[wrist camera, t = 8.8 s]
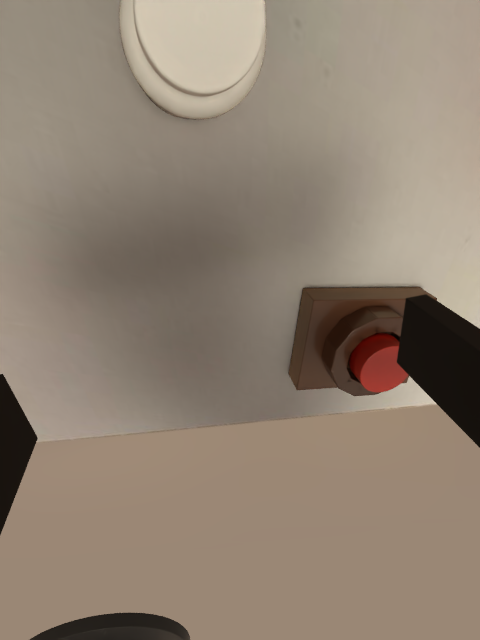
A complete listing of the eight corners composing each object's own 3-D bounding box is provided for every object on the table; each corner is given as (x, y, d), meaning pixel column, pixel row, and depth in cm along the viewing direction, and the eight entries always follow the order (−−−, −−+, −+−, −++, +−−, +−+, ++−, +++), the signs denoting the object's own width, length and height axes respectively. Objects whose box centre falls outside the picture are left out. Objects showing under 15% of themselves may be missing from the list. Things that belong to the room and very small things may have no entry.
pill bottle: (132, -19, 17) (106, -151, 9) (241, 8, 18) (308, -84, 10) (131, 110, 20) (109, 103, 11) (227, 127, 21) (272, 132, 13)
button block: (392, 367, 33) (419, 396, 29) (288, 374, 31) (304, 406, 27) (419, 286, 29) (454, 309, 26) (302, 287, 27) (323, 312, 24)
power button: (391, 376, 28) (403, 390, 27) (343, 379, 27) (354, 394, 26) (405, 332, 26) (420, 344, 25) (355, 333, 25) (367, 347, 24)
